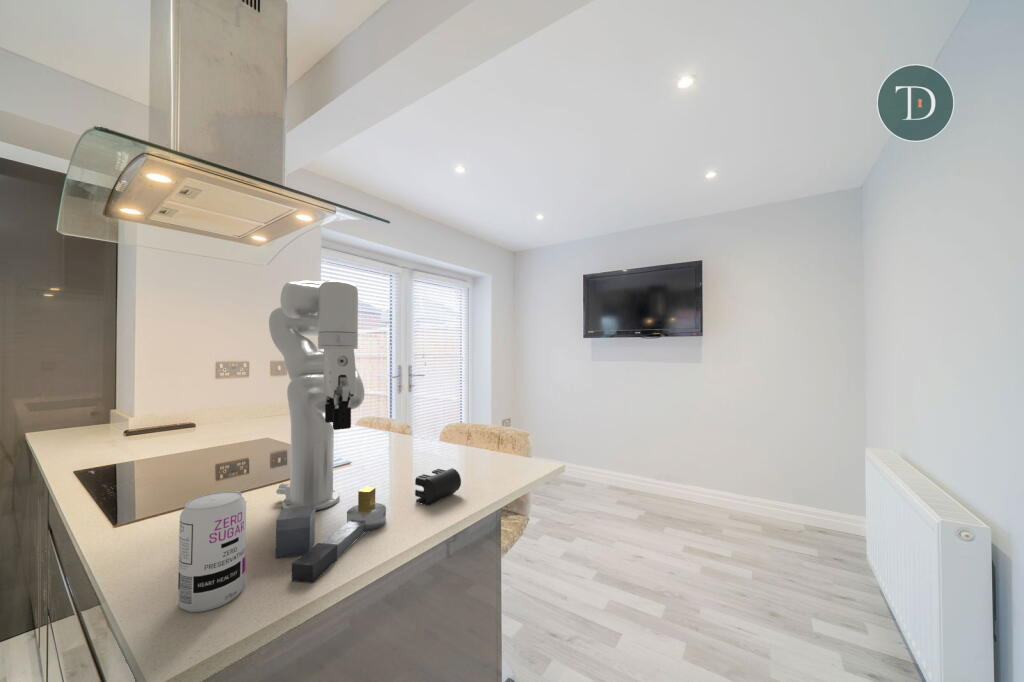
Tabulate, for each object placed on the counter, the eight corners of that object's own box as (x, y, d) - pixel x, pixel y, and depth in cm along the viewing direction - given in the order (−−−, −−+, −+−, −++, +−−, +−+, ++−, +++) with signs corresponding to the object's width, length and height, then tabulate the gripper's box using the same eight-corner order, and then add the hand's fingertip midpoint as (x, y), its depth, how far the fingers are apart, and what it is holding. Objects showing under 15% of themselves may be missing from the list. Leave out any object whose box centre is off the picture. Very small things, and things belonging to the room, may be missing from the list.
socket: (275, 558, 72) (276, 520, 72) (283, 544, 77) (283, 508, 77) (309, 554, 73) (310, 516, 73) (314, 540, 79) (315, 504, 79)
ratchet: (279, 579, 65) (280, 534, 65) (358, 515, 91) (359, 482, 91) (324, 583, 64) (325, 537, 64) (391, 517, 90) (392, 483, 90)
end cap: (434, 509, 94) (435, 480, 95) (413, 502, 98) (413, 475, 98) (461, 495, 103) (461, 469, 103) (440, 490, 107) (441, 465, 107)
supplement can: (202, 582, 64) (204, 490, 65) (255, 580, 65) (257, 489, 65) (163, 616, 56) (165, 510, 56) (224, 613, 57) (226, 509, 57)
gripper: (367, 340, 76) (366, 429, 76) (348, 343, 91) (348, 418, 90) (324, 340, 72) (323, 434, 72) (312, 343, 87) (311, 421, 86)
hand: (337, 425), depth 81 cm, fingers open, 9 cm apart
